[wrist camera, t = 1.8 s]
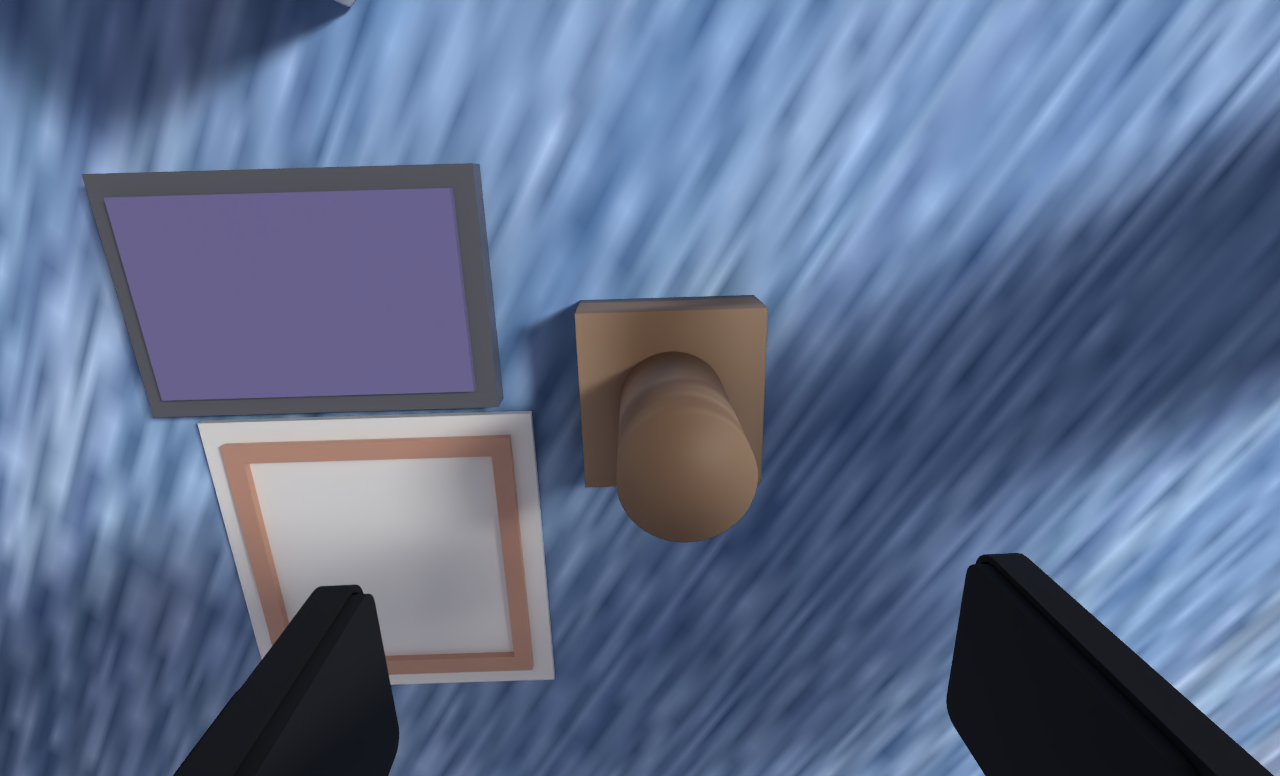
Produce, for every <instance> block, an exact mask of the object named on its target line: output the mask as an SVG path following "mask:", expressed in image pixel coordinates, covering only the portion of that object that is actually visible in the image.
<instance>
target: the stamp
mask: <svg viewBox="0 0 1280 776" xmlns="http://www.w3.org/2000/svg"><path fill="white" fill-rule="evenodd" d="M767 315H768V308H767V307H766V306H765V305H764V304H763V303H762V302H761V301H760V300H758V299H757V298H756V297H755V296H754V295H740V296H707V297H674V298H641V299H608V300H580V303H579V305H578V307H577V310H576V312H575V327H576V343H577V359H578V375H579V391H580V408H581V424H582V440H583V456H584V472H585V487H610V486H617V493H618V496H619V500H620V502H621V504H622V507H623V508H624V510H625V512H626V513H627V515H628V516H629V517H630V518H631V520H632V521H633V522H634V523H635V524H637V525H638V526H639V527H640V528H642V529H643V530H644V531H646V532H648V533H649V534H651V535H653V536H656V537H658V538H661V539H665V540H668V541H674V542H696V541H701V540H706V539H709V538H712V537H715V536H717V535H719V534H721V533H723V532H724V531H726V530H728V529H729V528H731V527H732V526H733V525H734V524H736V523H737V522H738V521H739V520H740V519H741V518H742V517H743V515H744V514H745V513H746V511H747V510H748V508H749V507H750V505H751V503H752V501H753V499H754V496H755V493H756V489H757V483H758V482H761V471H762V445H763V419H764V393H765V367H766V341H767Z"/></svg>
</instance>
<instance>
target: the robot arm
mask: <svg viewBox="0 0 1280 776" xmlns="http://www.w3.org/2000/svg"><path fill="white" fill-rule="evenodd" d="M946 702H947V709H948V713H949V716H950V719H951V721H952V723H953V725H954V727H955V729H956V730H957V732H958V733H959V735H960V736H961V738H962V740H963V741H964V743H965V744H966V746H967V747H968V749H969V751H970V752H971V754H972V755H973V757H974V758H975V760H976V762H977V763H978V765H979V766H980V768H981V769H982V771H983V773H984V774H985V776H1273V775H1272V774H1271V773H1270V772H1269V771H1268V770H1267V769H1265V768H1264V767H1263V766H1262V765H1261V764H1260V763H1259V762H1258V761H1256V760H1255V759H1254V758H1253V757H1252V756H1251V755H1250V754H1249V753H1247V752H1246V751H1245V750H1244V749H1243V748H1242V747H1241V746H1240V745H1238V744H1237V743H1236V742H1235V741H1234V740H1233V739H1232V738H1231V737H1229V736H1228V735H1227V734H1226V733H1225V732H1224V731H1223V730H1221V729H1220V728H1219V727H1218V726H1217V725H1216V724H1215V723H1214V722H1212V721H1211V720H1210V719H1209V718H1208V717H1207V716H1206V715H1205V714H1203V713H1202V712H1201V711H1200V710H1199V709H1198V708H1197V707H1196V706H1194V705H1193V704H1192V703H1191V702H1190V701H1189V700H1188V699H1186V698H1185V697H1184V696H1183V695H1182V694H1181V693H1180V692H1179V691H1177V690H1176V689H1175V688H1174V687H1173V686H1172V685H1171V684H1170V683H1168V682H1167V681H1166V680H1165V679H1164V678H1163V677H1162V676H1161V675H1159V674H1158V673H1157V672H1156V671H1155V670H1154V669H1153V668H1152V667H1150V666H1149V665H1148V664H1147V663H1146V662H1145V661H1144V660H1142V659H1141V658H1140V657H1139V656H1138V655H1137V654H1136V653H1135V652H1133V651H1132V650H1131V649H1130V648H1129V647H1128V646H1127V645H1126V644H1124V643H1123V642H1122V641H1121V640H1120V639H1119V638H1118V637H1117V636H1115V635H1114V634H1113V633H1112V632H1111V631H1110V630H1109V629H1108V628H1106V627H1105V626H1104V625H1103V624H1102V623H1101V622H1100V621H1098V620H1097V619H1096V618H1095V617H1094V616H1093V615H1092V614H1091V613H1089V612H1088V611H1087V610H1086V609H1085V608H1084V607H1083V606H1082V605H1080V604H1079V603H1078V602H1077V601H1076V600H1075V599H1074V598H1073V597H1071V596H1070V595H1069V594H1068V593H1067V592H1066V591H1065V590H1064V589H1062V588H1061V587H1060V586H1059V585H1058V584H1057V583H1056V582H1054V581H1053V580H1052V579H1051V578H1050V577H1049V576H1048V575H1047V574H1045V573H1044V572H1043V571H1042V570H1041V569H1040V568H1039V567H1038V566H1036V565H1035V564H1034V563H1033V562H1032V561H1031V560H1030V559H1029V558H1027V557H1026V556H1024V555H1023V554H1019V553H1008V554H987V555H982V556H980V557H979V558H978V559H977V561H976V564H975V565H971V566H969V568H968V569H967V573H966V578H965V585H964V591H963V597H962V603H961V610H960V616H959V622H958V629H957V635H956V641H955V648H954V654H953V660H952V666H951V673H950V679H949V685H948V692H947V701H946ZM398 742H399V727H398V721H397V716H396V711H395V705H394V700H393V695H392V690H391V684H390V679H389V674H388V668H387V663H386V658H385V652H384V647H383V642H382V636H381V631H380V626H379V621H378V615H377V610H376V605H375V600H374V597H373V596H372V595H371V594H364V593H363V590H362V589H361V587H360V586H359V585H335V586H320V587H317V588H316V589H315V590H314V591H313V592H312V593H311V595H310V596H309V598H308V599H307V600H306V602H305V603H304V604H303V606H302V607H301V608H300V610H299V611H298V612H297V614H296V615H295V616H294V618H293V619H292V620H291V622H290V623H289V624H288V626H287V627H286V628H285V630H284V631H283V632H282V634H281V635H280V636H279V638H278V639H277V640H276V642H275V643H274V644H273V646H272V647H271V648H270V650H269V651H268V652H267V654H266V655H265V656H264V658H263V659H262V660H261V662H260V663H259V664H258V666H257V667H256V668H255V670H254V671H253V672H252V674H251V675H250V676H249V678H248V679H247V680H246V682H245V683H244V684H243V686H242V687H241V688H240V689H239V690H238V691H237V692H236V693H235V694H234V695H233V697H232V698H231V699H230V700H229V702H228V703H227V704H226V706H225V707H224V708H223V710H222V711H221V712H220V714H219V715H218V716H217V718H216V719H215V720H214V722H213V723H212V724H211V726H210V727H209V728H208V730H207V731H206V732H205V734H204V735H203V736H202V738H201V739H200V740H199V742H198V743H197V744H196V746H195V747H194V748H193V750H192V751H191V752H190V754H189V755H188V756H187V758H186V759H185V760H184V762H183V763H182V764H181V766H180V767H179V768H178V770H177V771H176V772H175V774H174V775H173V776H388V774H389V772H390V769H391V767H392V764H393V761H394V759H395V756H396V753H397V748H398Z"/></svg>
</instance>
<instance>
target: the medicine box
mask: <svg viewBox="0 0 1280 776" xmlns="http://www.w3.org/2000/svg"><path fill="white" fill-rule="evenodd" d="M335 1H336V2H338V3H340V4H342V5H345V6H347V7H351V6H352V4H353V3H354V1H355V0H335Z"/></svg>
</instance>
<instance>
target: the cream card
mask: <svg viewBox="0 0 1280 776" xmlns="http://www.w3.org/2000/svg"><path fill="white" fill-rule="evenodd" d="M198 428H199V431H200V435H201V439H202V442H203V446H204V450H205V453H206V457H207V461H208V464H209V468H210V472H211V475H212V479H213V483H214V486H215V490H216V494H217V497H218V501H219V505H220V508H221V512H222V516H223V520H224V523H225V527H226V531H227V534H228V538H229V542H230V545H231V549H232V553H233V556H234V560H235V564H236V567H237V571H238V575H239V578H240V582H241V586H242V589H243V593H244V597H245V600H246V604H247V608H248V612H249V615H250V619H251V623H252V626H253V630H254V634H255V637H256V641H257V645H258V648H259V652H260V656H261V659H263V658H264V656H265V655H266V654H267V652H268V651H269V650H270V648H271V647H272V646H273V644H274V643H275V642H276V640H277V639H278V638H279V636H280V635H281V634H282V632H283V631H284V630H285V628H286V627H287V626H288V624H289V623H290V622H291V620H292V619H293V618H294V616H295V615H296V614H297V612H298V611H299V610H300V608H301V607H302V606H303V604H304V603H305V602H306V600H307V599H308V598H309V596H310V595H311V593H312V592H313V591H314V590H315V589H316V588H317V587H320V586H335V585H359V586H360V587H361V589H362V590H363V593H364V594H371V595H372V596H373V597H374V600H375V605H376V610H377V615H378V621H379V626H380V631H381V636H382V642H383V647H384V652H385V658H386V663H387V668H388V674H389V679H390V684H391V685H396V684H428V683H459V682H491V681H522V680H553V679H554V678H555V668H554V656H553V645H552V633H551V622H550V611H549V599H548V588H547V576H546V565H545V553H544V542H543V530H542V519H541V507H540V496H539V484H538V473H537V461H536V450H535V438H534V427H533V416H532V411H506V412H473V413H439V414H405V415H372V416H338V417H305V418H271V419H237V420H204V421H201V422H199V423H198Z"/></svg>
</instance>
